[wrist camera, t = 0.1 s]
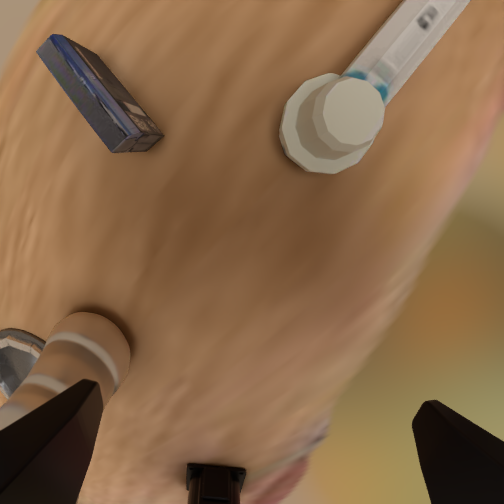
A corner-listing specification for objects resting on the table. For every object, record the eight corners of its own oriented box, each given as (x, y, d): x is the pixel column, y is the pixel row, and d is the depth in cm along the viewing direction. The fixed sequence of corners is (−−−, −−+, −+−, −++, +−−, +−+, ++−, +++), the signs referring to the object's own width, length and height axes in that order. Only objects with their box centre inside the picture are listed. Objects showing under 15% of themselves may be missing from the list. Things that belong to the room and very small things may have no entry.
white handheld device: (500, -20, 11) (368, 196, 13) (457, 4, 18) (319, 192, 20) (456, -65, 10) (276, 116, 12) (417, -35, 16) (254, 139, 19)
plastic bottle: (61, 294, 22) (-95, 483, 3) (138, 311, 22) (20, 570, 3) (69, 358, 24) (-33, 539, 5) (139, 375, 24) (70, 595, 5)
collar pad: (100, 438, 27) (97, 446, 26) (9, 405, 26) (5, 412, 25) (80, 346, 23) (74, 355, 22) (-21, 315, 22) (-28, 321, 21)
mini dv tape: (164, 135, 19) (134, 131, 13) (147, 151, 19) (111, 153, 13) (97, 54, 17) (54, 30, 11) (81, 69, 17) (35, 50, 11)
